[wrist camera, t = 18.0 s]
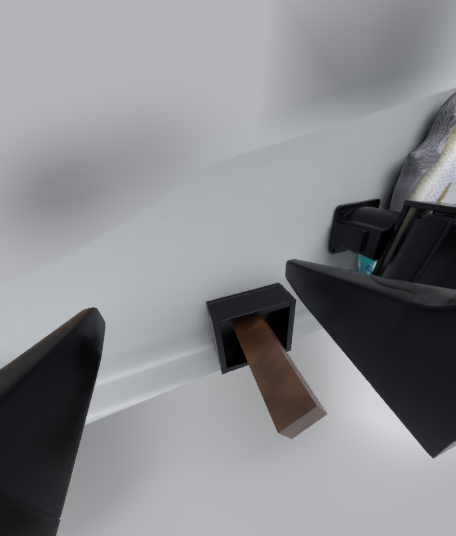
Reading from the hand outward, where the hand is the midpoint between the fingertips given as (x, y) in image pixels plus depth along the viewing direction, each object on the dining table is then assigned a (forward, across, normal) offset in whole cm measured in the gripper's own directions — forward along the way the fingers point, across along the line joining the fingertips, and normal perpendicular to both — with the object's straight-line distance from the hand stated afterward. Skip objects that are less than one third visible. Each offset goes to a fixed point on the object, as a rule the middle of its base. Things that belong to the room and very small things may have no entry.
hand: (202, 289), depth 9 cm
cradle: (+12, -6, +15) cm, 20 cm away
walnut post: (+11, -6, +15) cm, 20 cm away
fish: (+10, -35, 0) cm, 37 cm away
